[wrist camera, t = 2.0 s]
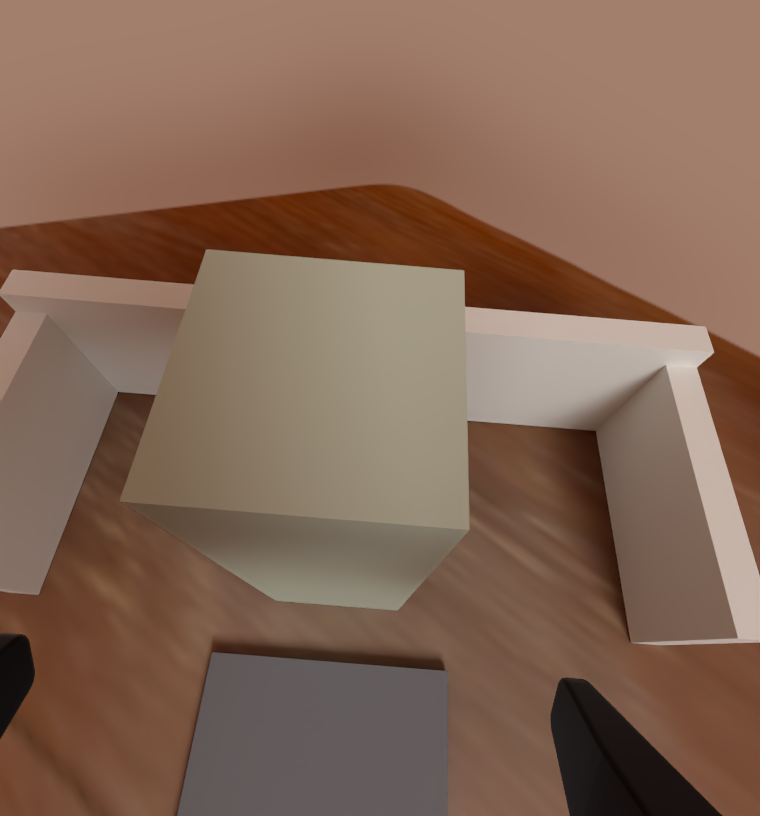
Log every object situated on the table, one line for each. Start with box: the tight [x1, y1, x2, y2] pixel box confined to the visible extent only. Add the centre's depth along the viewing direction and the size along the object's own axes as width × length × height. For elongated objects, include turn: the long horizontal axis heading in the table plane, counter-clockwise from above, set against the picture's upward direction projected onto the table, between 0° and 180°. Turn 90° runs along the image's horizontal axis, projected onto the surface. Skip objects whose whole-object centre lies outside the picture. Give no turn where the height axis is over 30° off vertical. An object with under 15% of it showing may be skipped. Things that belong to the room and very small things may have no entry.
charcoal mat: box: [177, 652, 448, 816], centre depth 16 cm, size 9×9×1 cm
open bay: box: [0, 270, 760, 645], centre depth 18 cm, size 11×26×7 cm, turn 86°
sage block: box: [119, 249, 469, 610], centre depth 14 cm, size 5×5×14 cm
